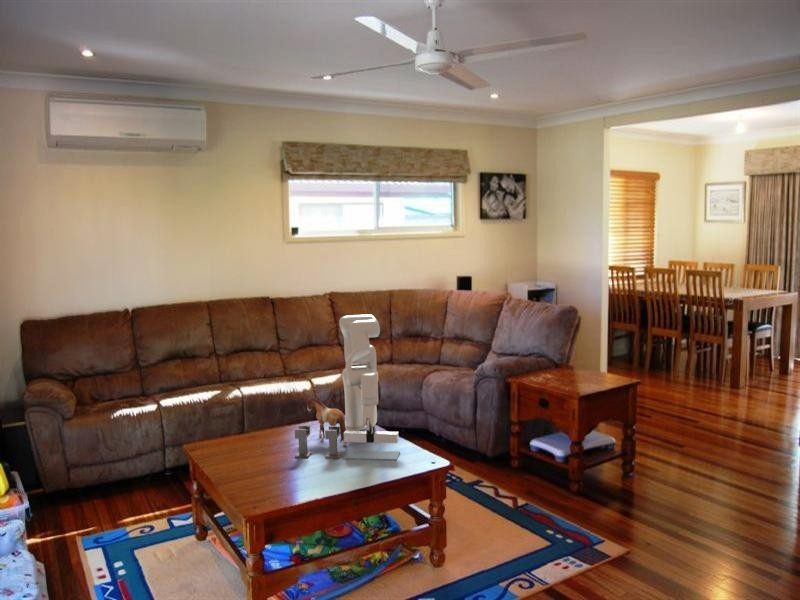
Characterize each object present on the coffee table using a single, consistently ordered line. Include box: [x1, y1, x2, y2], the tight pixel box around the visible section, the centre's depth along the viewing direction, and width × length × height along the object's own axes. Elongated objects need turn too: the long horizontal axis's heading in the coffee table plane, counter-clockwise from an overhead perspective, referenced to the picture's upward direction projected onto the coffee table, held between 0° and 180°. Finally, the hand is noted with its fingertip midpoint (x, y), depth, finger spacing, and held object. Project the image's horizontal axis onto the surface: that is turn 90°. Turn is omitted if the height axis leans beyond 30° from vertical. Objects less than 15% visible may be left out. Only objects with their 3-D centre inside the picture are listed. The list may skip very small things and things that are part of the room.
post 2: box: [324, 425, 343, 460], centre depth 300 cm, size 7×6×13 cm
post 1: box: [294, 424, 313, 459], centre depth 302 cm, size 7×6×13 cm
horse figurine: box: [305, 396, 348, 447], centre depth 318 cm, size 31×8×21 cm, turn 39°
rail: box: [343, 430, 399, 444], centre depth 299 cm, size 4×24×4 cm, turn 81°
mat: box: [342, 449, 401, 461], centre depth 300 cm, size 10×24×1 cm, turn 81°
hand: (371, 440), depth 299 cm, fingers closed on rail, 4 cm apart
